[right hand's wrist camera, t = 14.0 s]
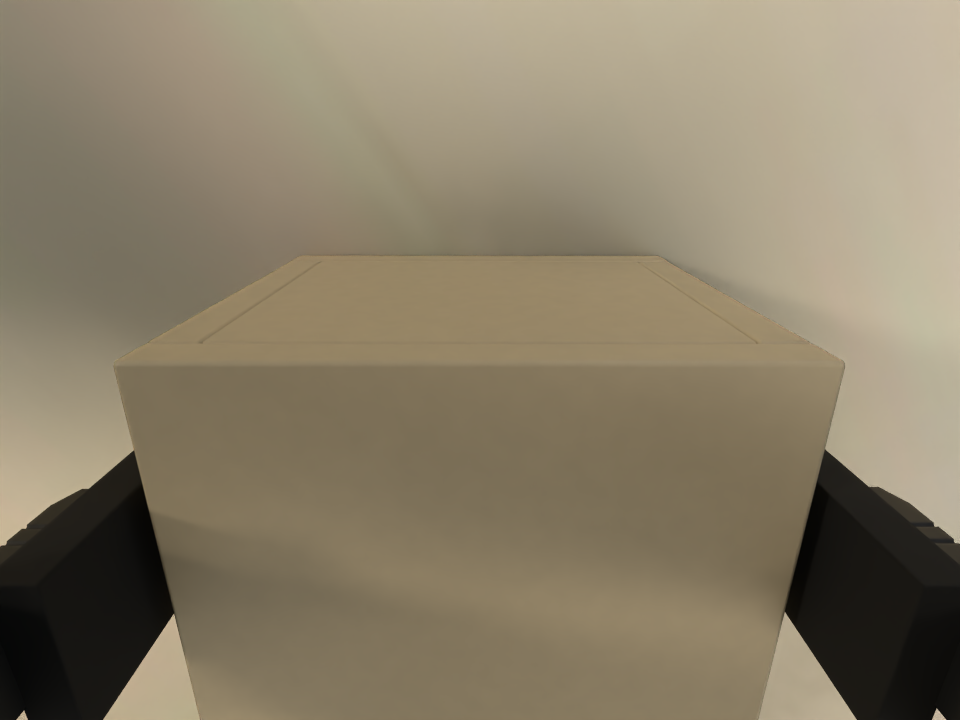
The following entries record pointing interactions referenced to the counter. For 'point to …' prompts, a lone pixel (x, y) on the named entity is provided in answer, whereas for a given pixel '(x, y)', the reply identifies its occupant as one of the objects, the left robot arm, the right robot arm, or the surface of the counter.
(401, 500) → the cabinet
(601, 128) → the counter surface
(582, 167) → the counter surface
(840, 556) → the right robot arm
